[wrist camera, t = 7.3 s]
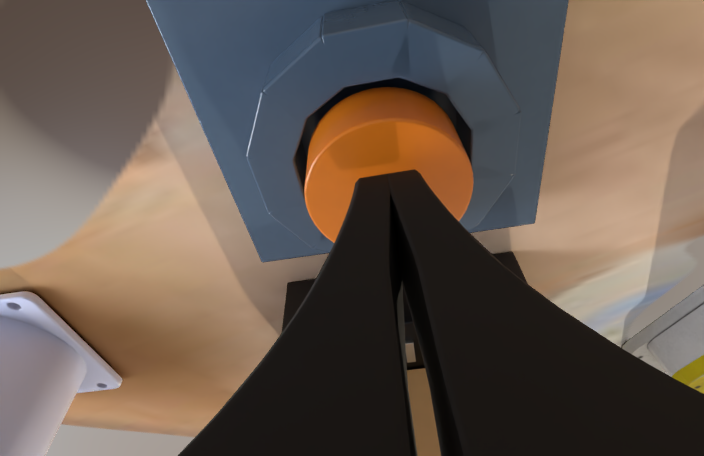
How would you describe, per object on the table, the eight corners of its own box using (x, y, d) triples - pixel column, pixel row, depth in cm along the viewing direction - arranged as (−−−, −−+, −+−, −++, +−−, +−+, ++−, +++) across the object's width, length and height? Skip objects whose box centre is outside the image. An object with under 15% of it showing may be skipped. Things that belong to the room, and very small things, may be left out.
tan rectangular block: (439, 422, 22) (456, 514, 18) (400, 426, 22) (411, 517, 19) (436, 366, 18) (456, 467, 15) (390, 371, 18) (401, 472, 15)
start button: (325, 225, 13) (324, 266, 11) (290, 101, 10) (283, 136, 9) (458, 205, 12) (472, 245, 11) (457, 71, 10) (476, 103, 8)
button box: (267, 233, 17) (254, 300, 14) (166, -17, 11) (112, 18, 8) (519, 195, 16) (555, 260, 13) (552, -98, 10) (628, -87, 8)
